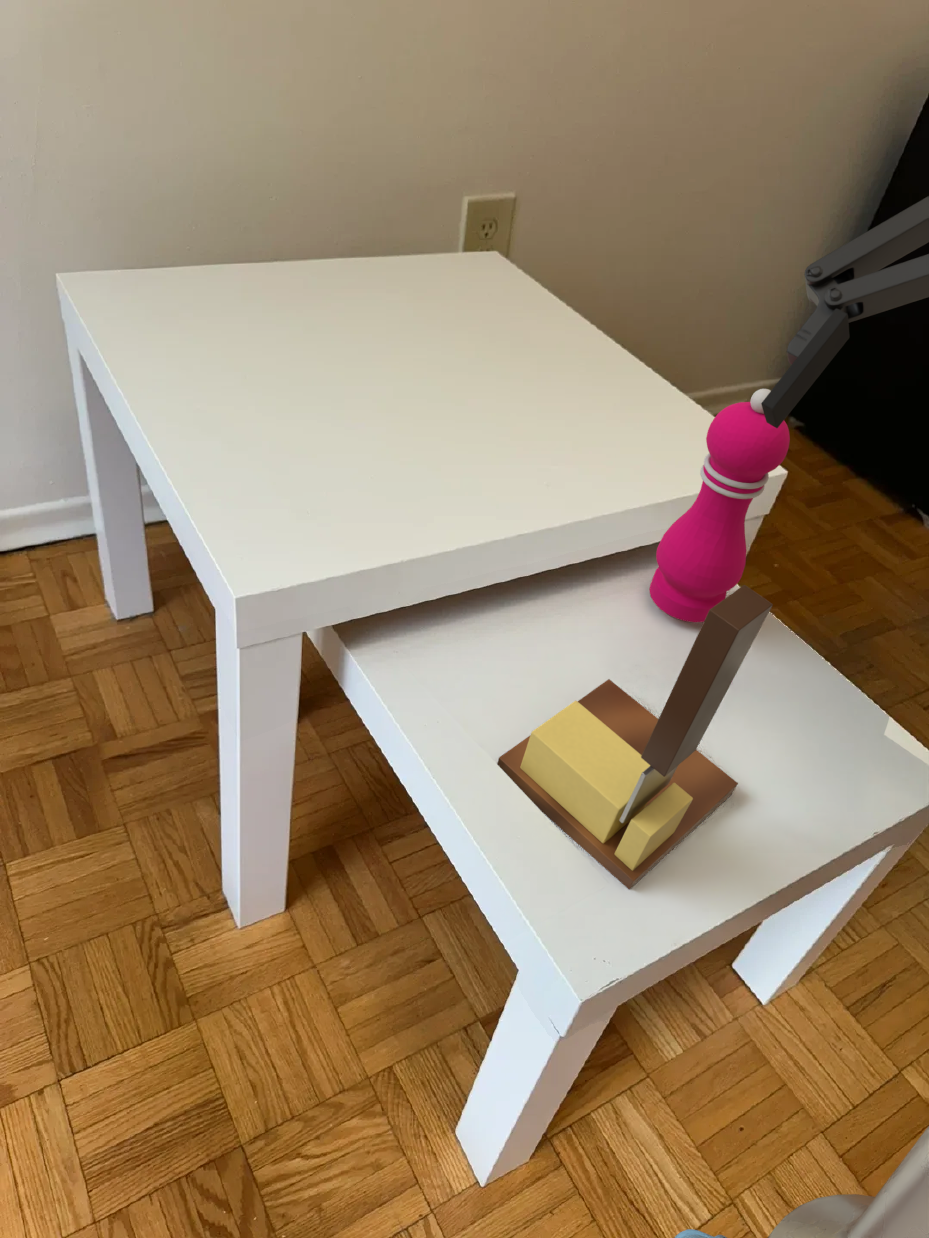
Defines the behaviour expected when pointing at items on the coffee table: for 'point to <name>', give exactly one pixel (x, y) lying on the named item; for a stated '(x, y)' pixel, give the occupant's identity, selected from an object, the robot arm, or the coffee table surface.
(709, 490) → the pepper mill
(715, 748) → the coffee table surface
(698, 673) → the knife
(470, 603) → the coffee table surface
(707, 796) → the board
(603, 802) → the butter
